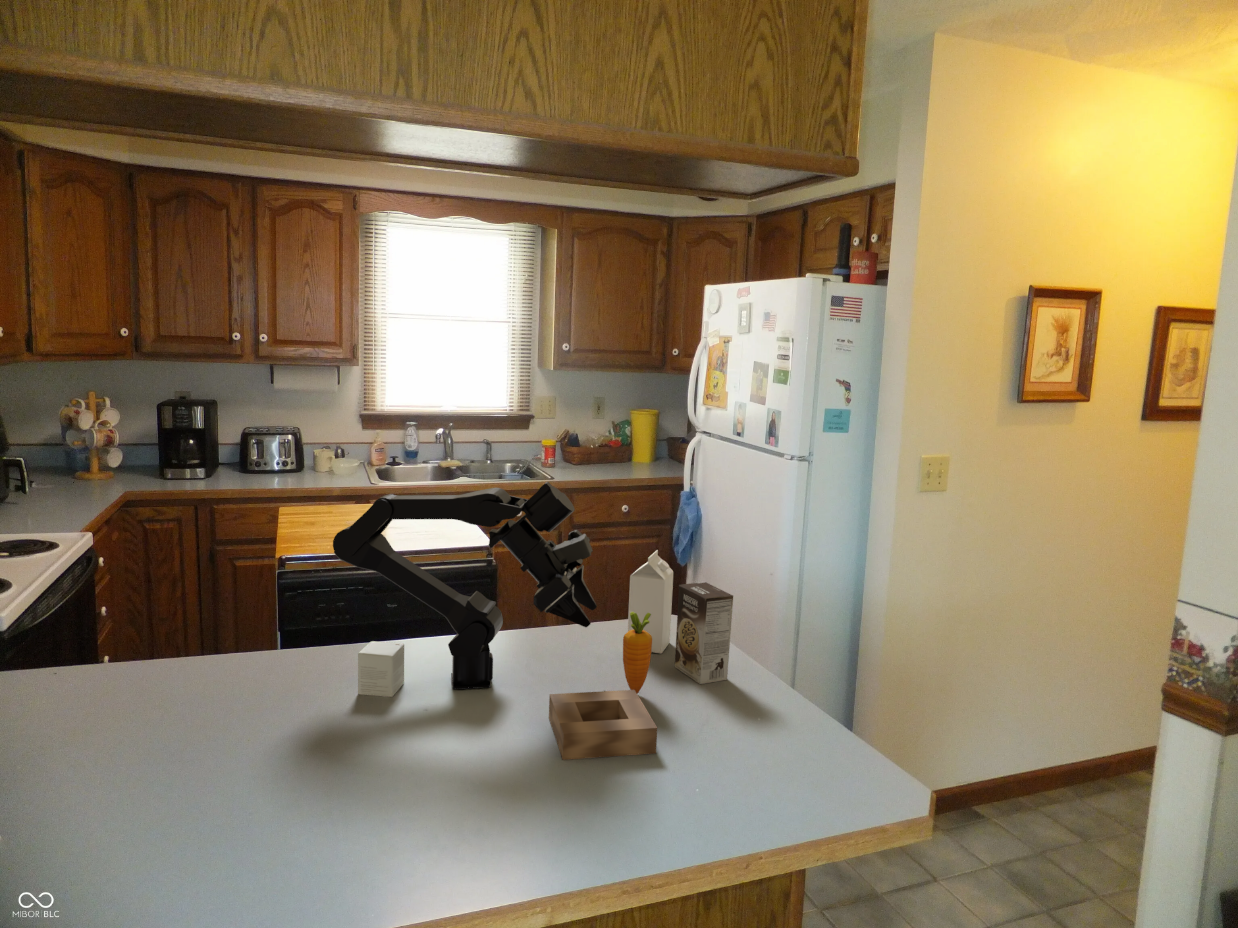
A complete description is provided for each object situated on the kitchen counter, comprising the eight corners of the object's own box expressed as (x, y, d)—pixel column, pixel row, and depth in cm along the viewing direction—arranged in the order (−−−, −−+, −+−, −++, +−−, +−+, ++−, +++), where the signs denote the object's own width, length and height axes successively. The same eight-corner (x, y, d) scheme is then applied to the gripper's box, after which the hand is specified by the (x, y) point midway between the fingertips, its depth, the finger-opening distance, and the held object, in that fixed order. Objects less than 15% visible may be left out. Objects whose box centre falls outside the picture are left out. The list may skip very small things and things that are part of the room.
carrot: (648, 689, 150) (652, 606, 148) (650, 701, 145) (654, 616, 143) (620, 688, 150) (623, 606, 148) (621, 700, 145) (625, 615, 143)
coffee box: (672, 667, 161) (677, 584, 159) (701, 662, 164) (706, 580, 162) (699, 685, 153) (704, 597, 151) (729, 679, 156) (734, 594, 154)
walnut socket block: (562, 759, 124) (563, 733, 123) (548, 717, 137) (549, 693, 137) (656, 753, 127) (657, 727, 126) (633, 712, 140) (634, 689, 140)
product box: (371, 680, 149) (371, 640, 148) (405, 683, 148) (405, 642, 147) (357, 694, 143) (357, 652, 142) (392, 697, 142) (392, 655, 141)
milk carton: (626, 649, 169) (630, 555, 167) (636, 637, 176) (640, 548, 173) (661, 654, 167) (666, 560, 164) (669, 642, 174) (674, 551, 171)
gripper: (556, 530, 135) (622, 603, 136) (573, 508, 154) (631, 572, 154) (505, 575, 137) (571, 646, 138) (528, 547, 155) (585, 611, 156)
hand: (592, 616), depth 146 cm, fingers open, 9 cm apart
